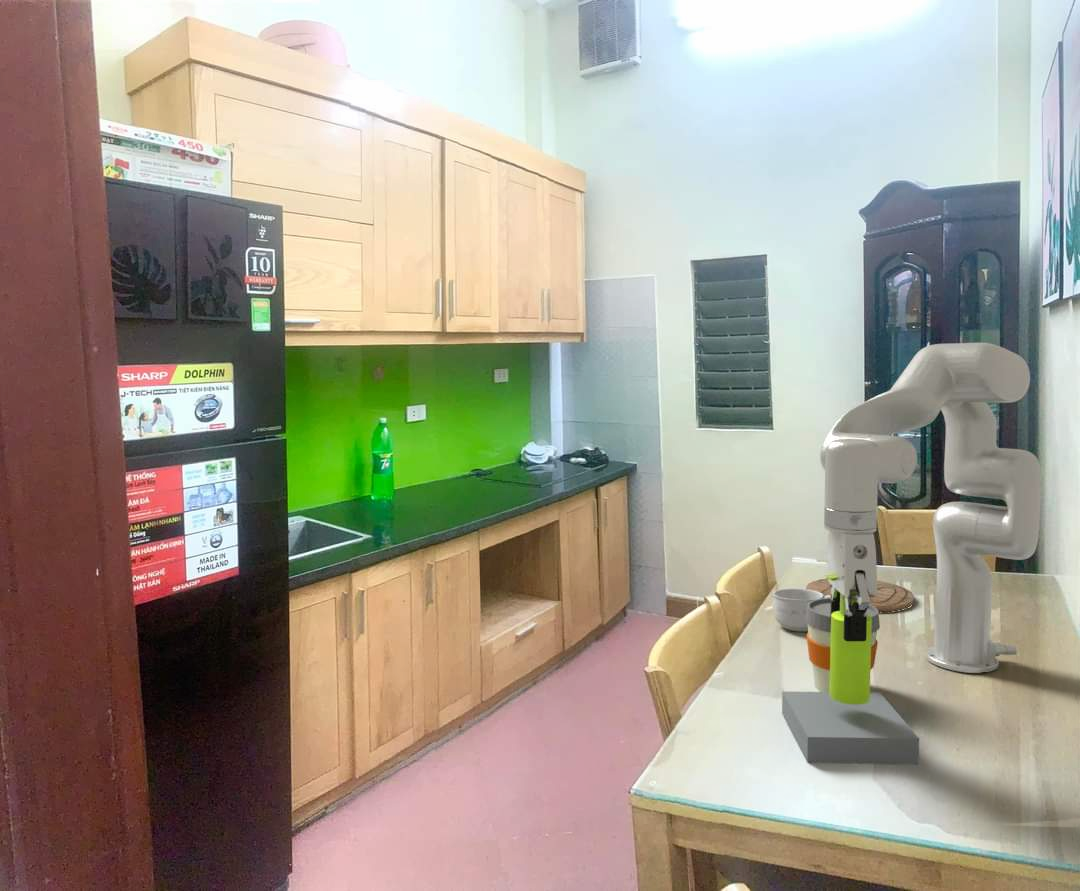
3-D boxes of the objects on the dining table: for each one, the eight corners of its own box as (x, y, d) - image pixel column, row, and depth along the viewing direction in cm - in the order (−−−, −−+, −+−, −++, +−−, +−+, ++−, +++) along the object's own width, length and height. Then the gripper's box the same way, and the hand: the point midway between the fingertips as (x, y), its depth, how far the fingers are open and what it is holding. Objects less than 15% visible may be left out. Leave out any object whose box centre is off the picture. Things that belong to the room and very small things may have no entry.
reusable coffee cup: (852, 671, 149) (854, 595, 147) (893, 699, 136) (895, 616, 135) (791, 677, 146) (792, 600, 145) (827, 706, 134) (828, 622, 133)
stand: (879, 715, 130) (879, 692, 130) (918, 764, 114) (919, 738, 114) (782, 714, 131) (782, 691, 131) (807, 762, 116) (807, 736, 115)
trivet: (793, 603, 191) (793, 596, 191) (821, 579, 212) (821, 572, 211) (903, 621, 177) (903, 613, 177) (922, 593, 197) (922, 586, 197)
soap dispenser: (816, 690, 125) (819, 568, 123) (858, 687, 125) (861, 567, 123) (833, 706, 119) (836, 579, 117) (876, 703, 120) (880, 577, 117)
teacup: (770, 632, 171) (770, 597, 170) (775, 617, 181) (775, 583, 180) (838, 640, 165) (838, 603, 164) (839, 623, 175) (839, 589, 174)
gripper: (896, 531, 110) (893, 653, 112) (856, 508, 127) (854, 615, 129) (842, 531, 111) (840, 653, 113) (810, 509, 128) (808, 615, 130)
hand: (847, 631), depth 121 cm, fingers closed on soap dispenser, 5 cm apart
